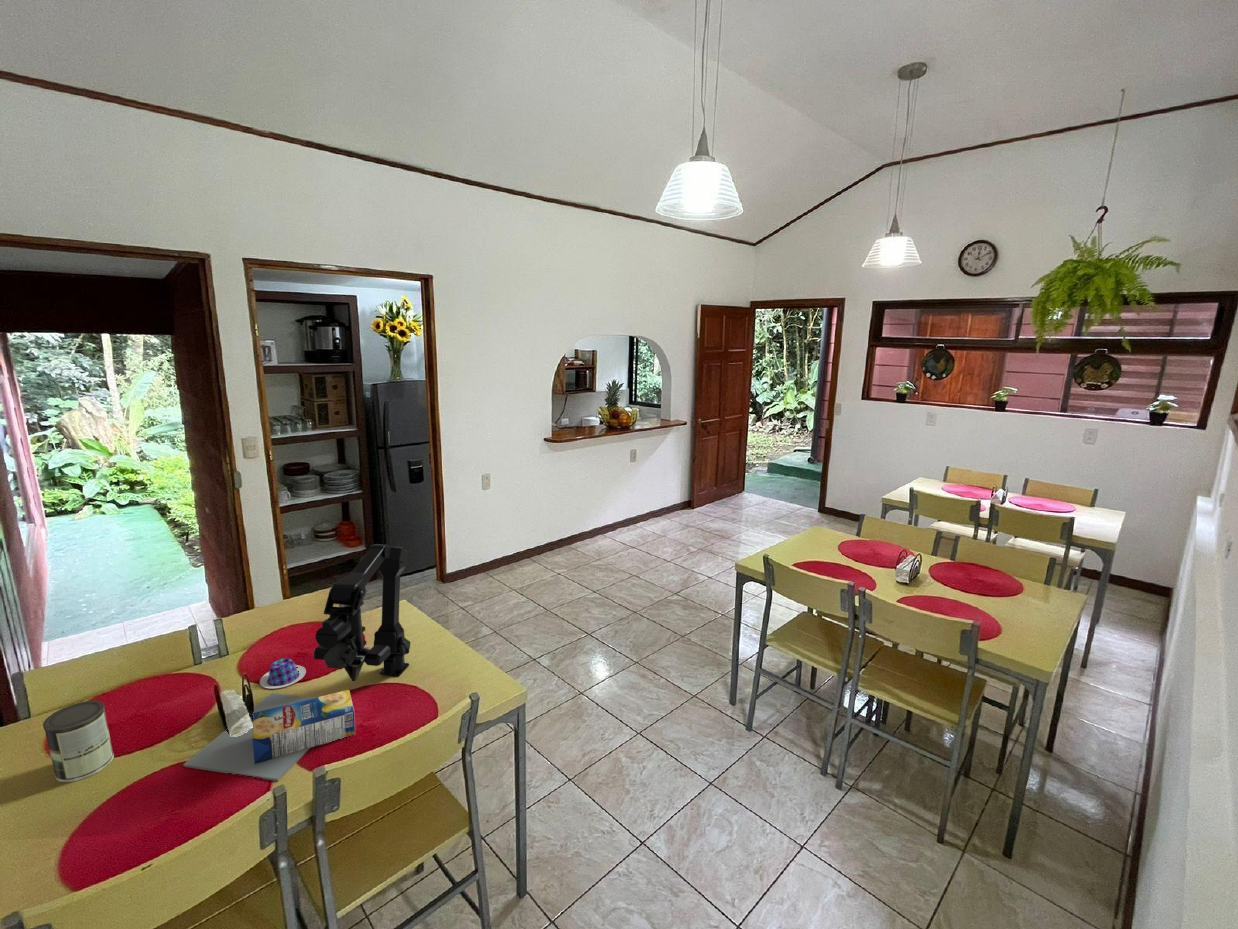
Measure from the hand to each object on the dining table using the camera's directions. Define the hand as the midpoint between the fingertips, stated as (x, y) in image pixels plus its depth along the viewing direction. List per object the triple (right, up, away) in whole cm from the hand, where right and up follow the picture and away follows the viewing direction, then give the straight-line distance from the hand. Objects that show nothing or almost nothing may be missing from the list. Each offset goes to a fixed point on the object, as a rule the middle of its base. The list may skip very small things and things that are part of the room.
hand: (354, 680), depth 150 cm
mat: (-19, -12, -5) cm, 23 cm away
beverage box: (0, -8, -1) cm, 8 cm away
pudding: (-30, -7, +19) cm, 36 cm away
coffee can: (-56, -14, -17) cm, 60 cm away
